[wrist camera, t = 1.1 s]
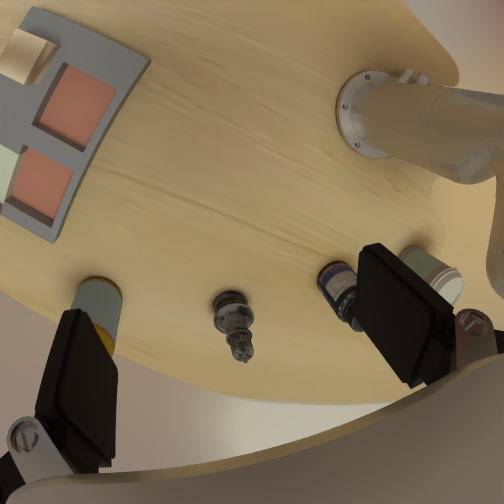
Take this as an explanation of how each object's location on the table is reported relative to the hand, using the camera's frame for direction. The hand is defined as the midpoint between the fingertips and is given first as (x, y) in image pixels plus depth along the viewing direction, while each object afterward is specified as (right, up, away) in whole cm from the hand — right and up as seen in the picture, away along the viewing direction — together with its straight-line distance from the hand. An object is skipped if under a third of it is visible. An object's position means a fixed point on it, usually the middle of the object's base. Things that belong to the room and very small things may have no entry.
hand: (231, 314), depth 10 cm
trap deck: (-25, +18, +18) cm, 36 cm away
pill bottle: (+14, -2, +39) cm, 41 cm away
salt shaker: (-3, -6, +37) cm, 38 cm away
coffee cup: (+29, +1, +42) cm, 51 cm away
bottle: (-21, -4, +32) cm, 38 cm away
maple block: (-24, +24, +13) cm, 36 cm away
